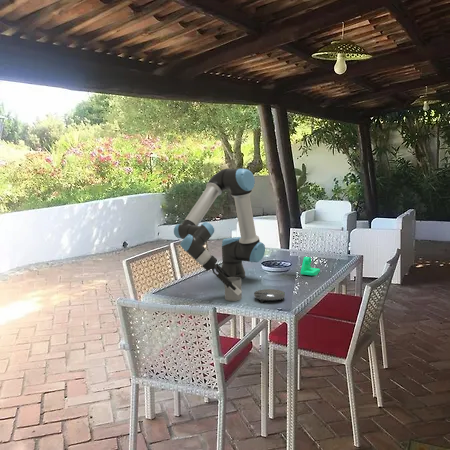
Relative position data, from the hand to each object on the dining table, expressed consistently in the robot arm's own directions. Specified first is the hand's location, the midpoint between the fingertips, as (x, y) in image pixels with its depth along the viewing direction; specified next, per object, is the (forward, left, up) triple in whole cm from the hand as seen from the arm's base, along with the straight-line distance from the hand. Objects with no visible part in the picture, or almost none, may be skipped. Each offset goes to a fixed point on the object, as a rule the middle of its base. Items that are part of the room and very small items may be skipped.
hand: (239, 291), depth 246 cm
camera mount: (+30, +57, -4) cm, 64 cm away
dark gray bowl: (+15, +1, -4) cm, 15 cm away
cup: (-3, -1, -4) cm, 5 cm away
